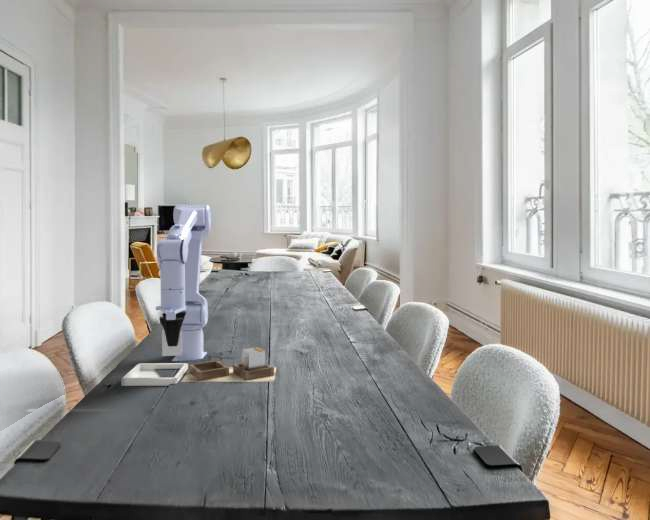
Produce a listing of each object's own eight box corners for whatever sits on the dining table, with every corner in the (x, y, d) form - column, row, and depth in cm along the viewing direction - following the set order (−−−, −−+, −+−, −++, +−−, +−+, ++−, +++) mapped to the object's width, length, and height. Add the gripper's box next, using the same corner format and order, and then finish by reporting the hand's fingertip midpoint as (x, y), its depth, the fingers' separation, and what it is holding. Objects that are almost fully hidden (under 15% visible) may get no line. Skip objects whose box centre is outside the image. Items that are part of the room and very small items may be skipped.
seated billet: (241, 372, 125) (241, 348, 125) (257, 370, 127) (257, 346, 127) (248, 377, 121) (248, 352, 121) (265, 374, 124) (265, 350, 123)
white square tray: (138, 371, 128) (138, 363, 128) (188, 371, 129) (188, 363, 129) (121, 388, 116) (121, 378, 115) (176, 387, 116) (176, 378, 116)
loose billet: (164, 351, 124) (163, 326, 123) (182, 350, 125) (182, 326, 124) (162, 356, 120) (161, 330, 119) (181, 355, 121) (180, 330, 120)
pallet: (191, 370, 130) (191, 359, 129) (276, 370, 131) (276, 359, 131) (180, 385, 118) (180, 373, 117) (274, 385, 119) (274, 373, 119)
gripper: (158, 284, 127) (159, 337, 128) (152, 293, 113) (152, 351, 114) (187, 284, 129) (187, 336, 130) (184, 292, 115) (184, 350, 116)
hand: (173, 343), depth 122 cm, fingers closed on loose billet, 4 cm apart
